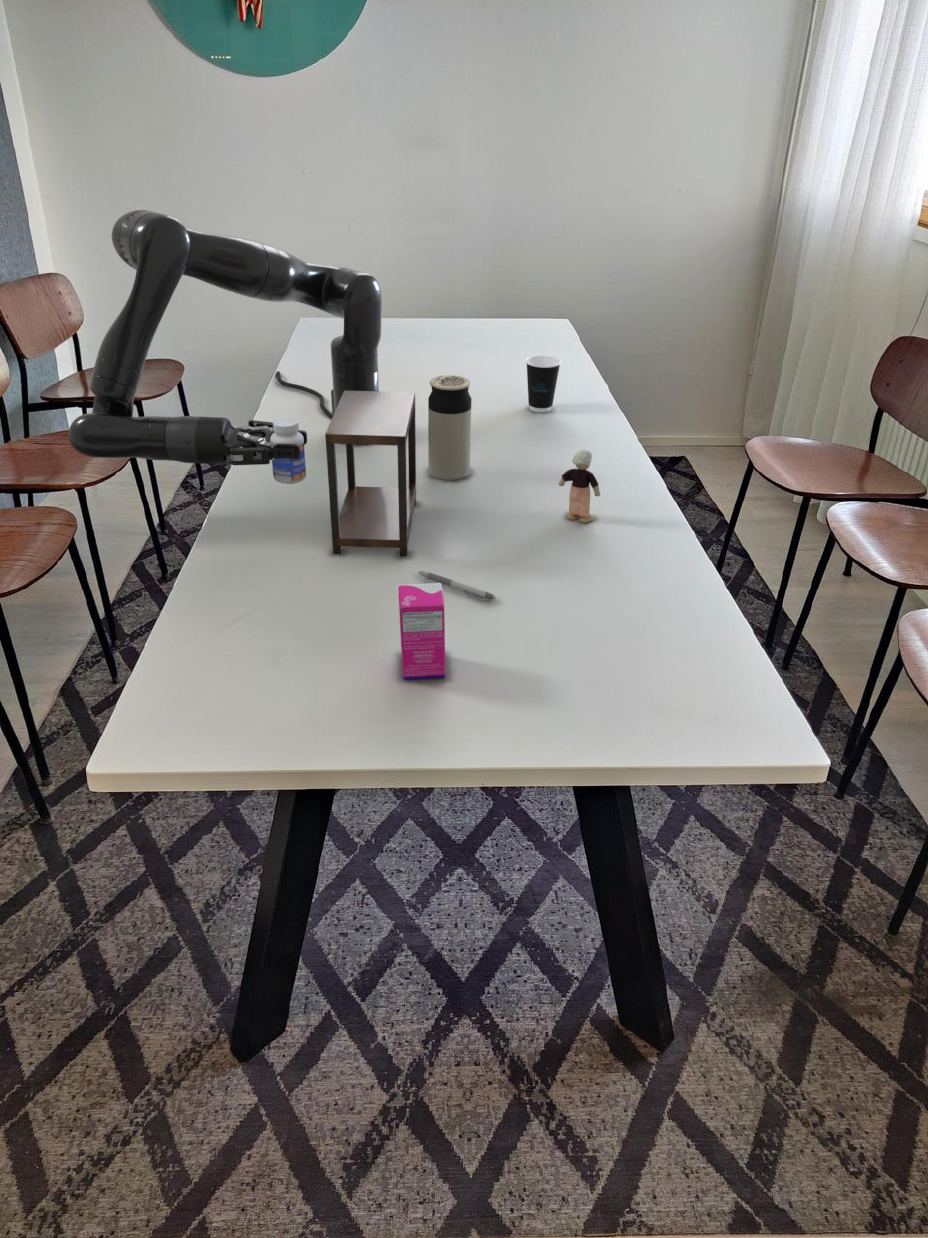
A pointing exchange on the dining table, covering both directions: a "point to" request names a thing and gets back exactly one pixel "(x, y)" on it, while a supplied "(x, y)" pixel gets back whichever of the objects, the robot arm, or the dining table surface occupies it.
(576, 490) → the grandmother figurine
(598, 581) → the dining table surface
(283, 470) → the pill bottle
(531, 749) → the dining table surface
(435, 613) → the supplement box
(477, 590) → the pen
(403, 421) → the shelf
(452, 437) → the travel mug
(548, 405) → the dixie cup
